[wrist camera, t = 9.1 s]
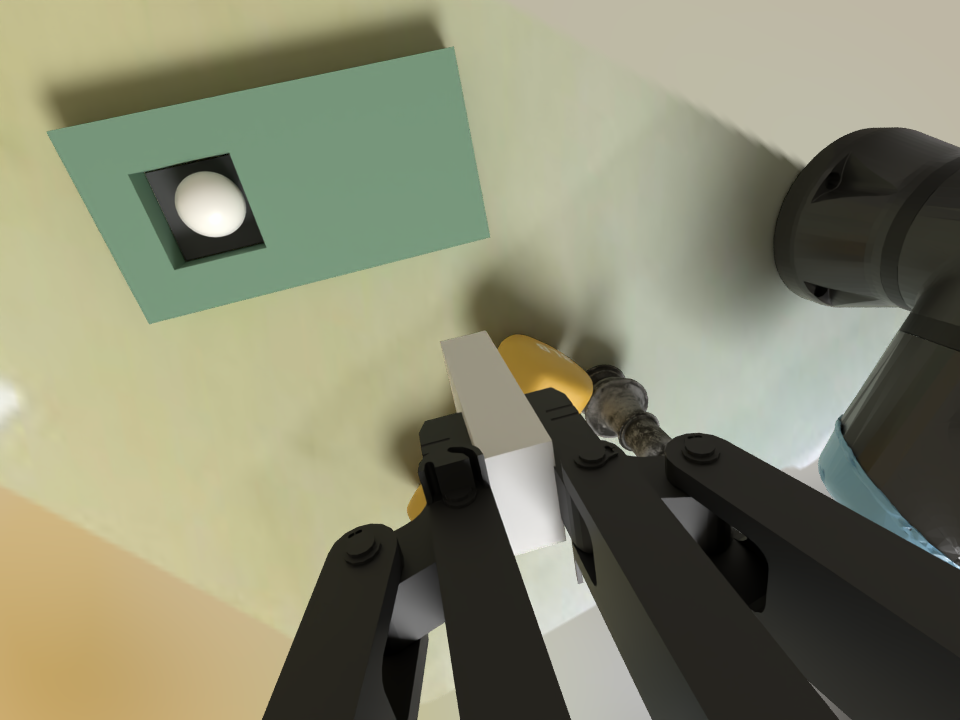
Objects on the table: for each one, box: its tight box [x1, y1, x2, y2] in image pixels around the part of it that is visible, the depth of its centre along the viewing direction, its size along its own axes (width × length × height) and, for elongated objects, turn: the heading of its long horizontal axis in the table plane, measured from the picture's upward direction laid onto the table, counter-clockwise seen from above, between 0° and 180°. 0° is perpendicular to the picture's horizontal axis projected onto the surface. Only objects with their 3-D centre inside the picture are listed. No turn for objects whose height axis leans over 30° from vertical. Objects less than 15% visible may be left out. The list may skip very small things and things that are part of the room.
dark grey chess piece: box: [582, 365, 672, 457], centre depth 41 cm, size 6×6×12 cm
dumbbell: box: [407, 334, 593, 521], centre depth 42 cm, size 19×9×8 cm, turn 150°
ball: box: [175, 171, 246, 237], centre depth 32 cm, size 4×4×4 cm
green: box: [47, 47, 490, 324], centre depth 33 cm, size 24×12×2 cm, turn 102°
